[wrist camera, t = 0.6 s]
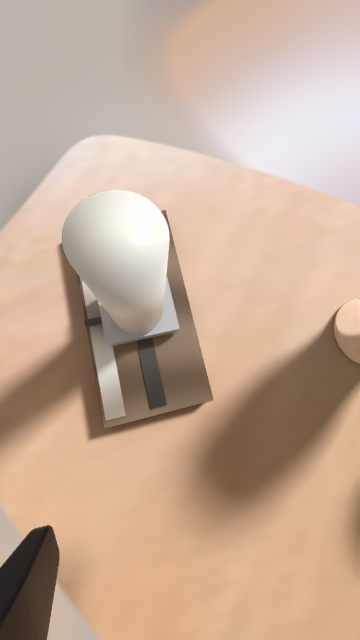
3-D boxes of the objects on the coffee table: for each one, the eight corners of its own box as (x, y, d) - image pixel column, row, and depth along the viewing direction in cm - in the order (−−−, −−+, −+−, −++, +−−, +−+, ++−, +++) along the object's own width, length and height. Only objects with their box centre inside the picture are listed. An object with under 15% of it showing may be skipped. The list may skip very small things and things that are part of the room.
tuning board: (209, 398, 21) (213, 400, 19) (108, 424, 20) (103, 429, 18) (165, 220, 24) (165, 209, 22) (75, 235, 23) (68, 224, 21)
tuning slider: (178, 331, 20) (204, 276, 9) (91, 350, 19) (1, 315, 8) (166, 282, 21) (177, 175, 10) (82, 298, 20) (-11, 202, 9)
